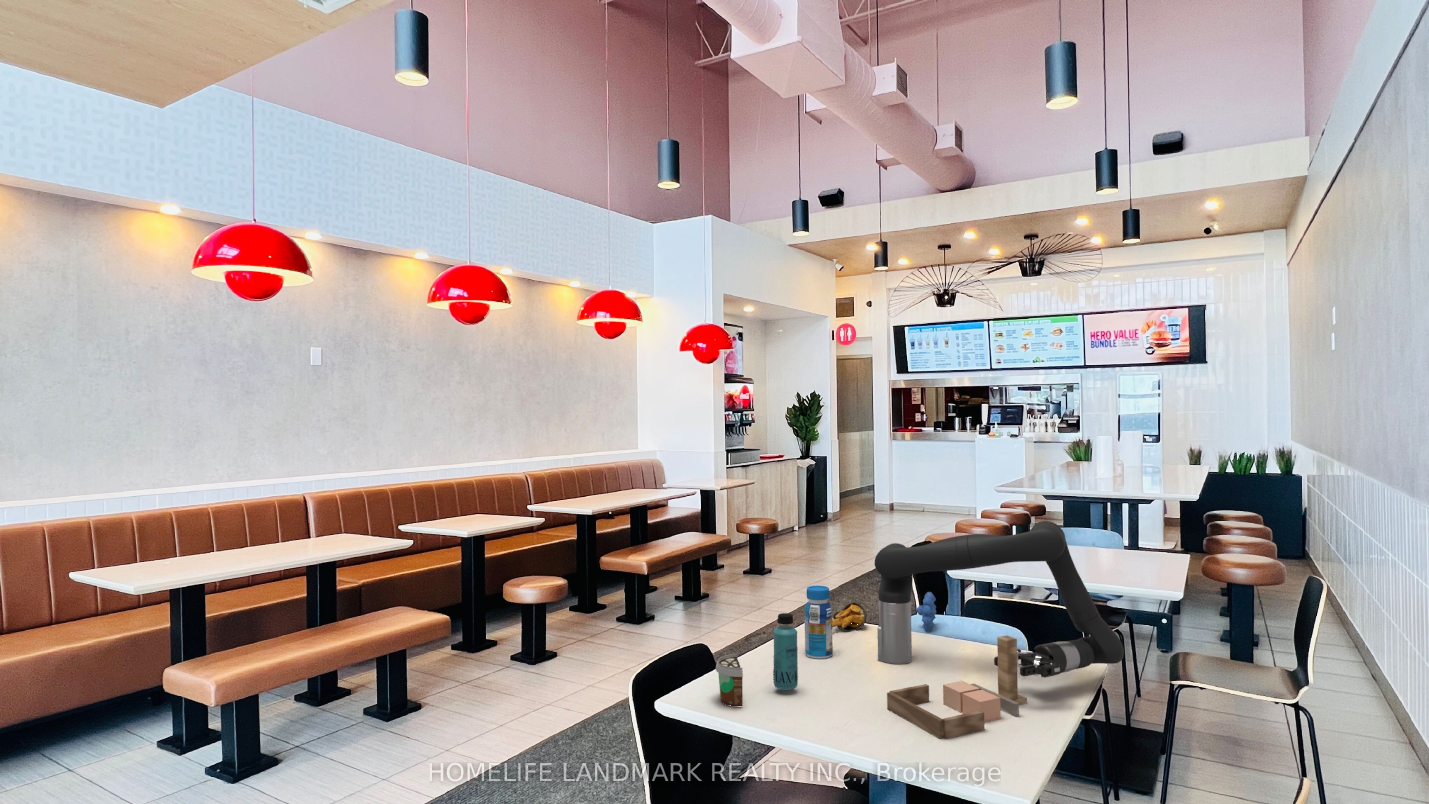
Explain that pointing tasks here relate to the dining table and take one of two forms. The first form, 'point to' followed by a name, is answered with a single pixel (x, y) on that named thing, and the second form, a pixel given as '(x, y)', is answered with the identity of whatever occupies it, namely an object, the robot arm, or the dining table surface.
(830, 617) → the beverage bottle
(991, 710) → the salmon pink block
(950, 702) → the tile
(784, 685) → the beverage bottle
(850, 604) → the fried shrimp in bowl
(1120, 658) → the robot arm
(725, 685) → the food container
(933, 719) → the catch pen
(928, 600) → the grapes
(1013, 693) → the wooden post on base
